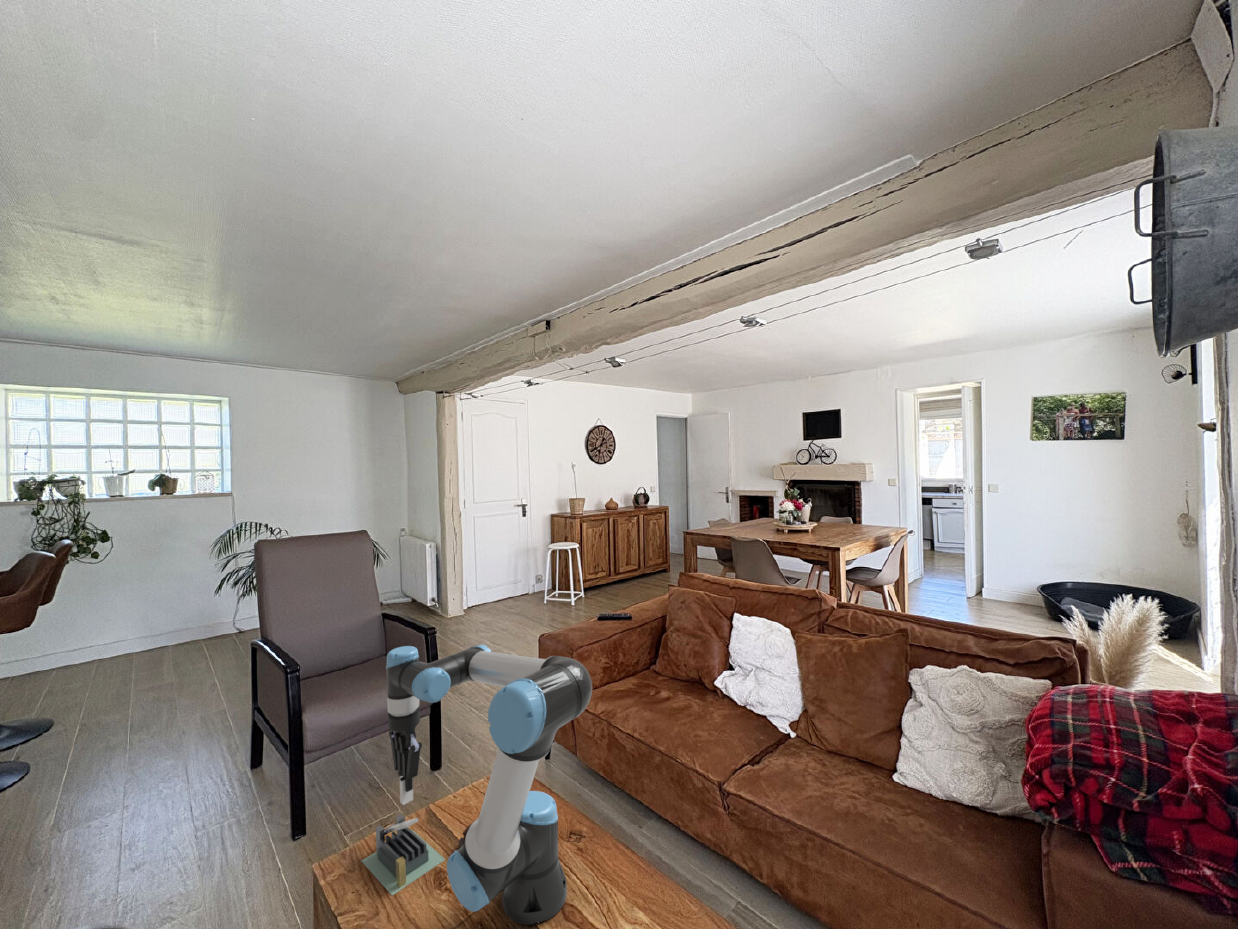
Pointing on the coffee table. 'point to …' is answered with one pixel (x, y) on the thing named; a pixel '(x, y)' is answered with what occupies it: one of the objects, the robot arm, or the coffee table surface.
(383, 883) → the board
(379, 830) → the pivot bracket
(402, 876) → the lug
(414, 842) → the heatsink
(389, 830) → the grey flat bar
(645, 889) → the coffee table surface
